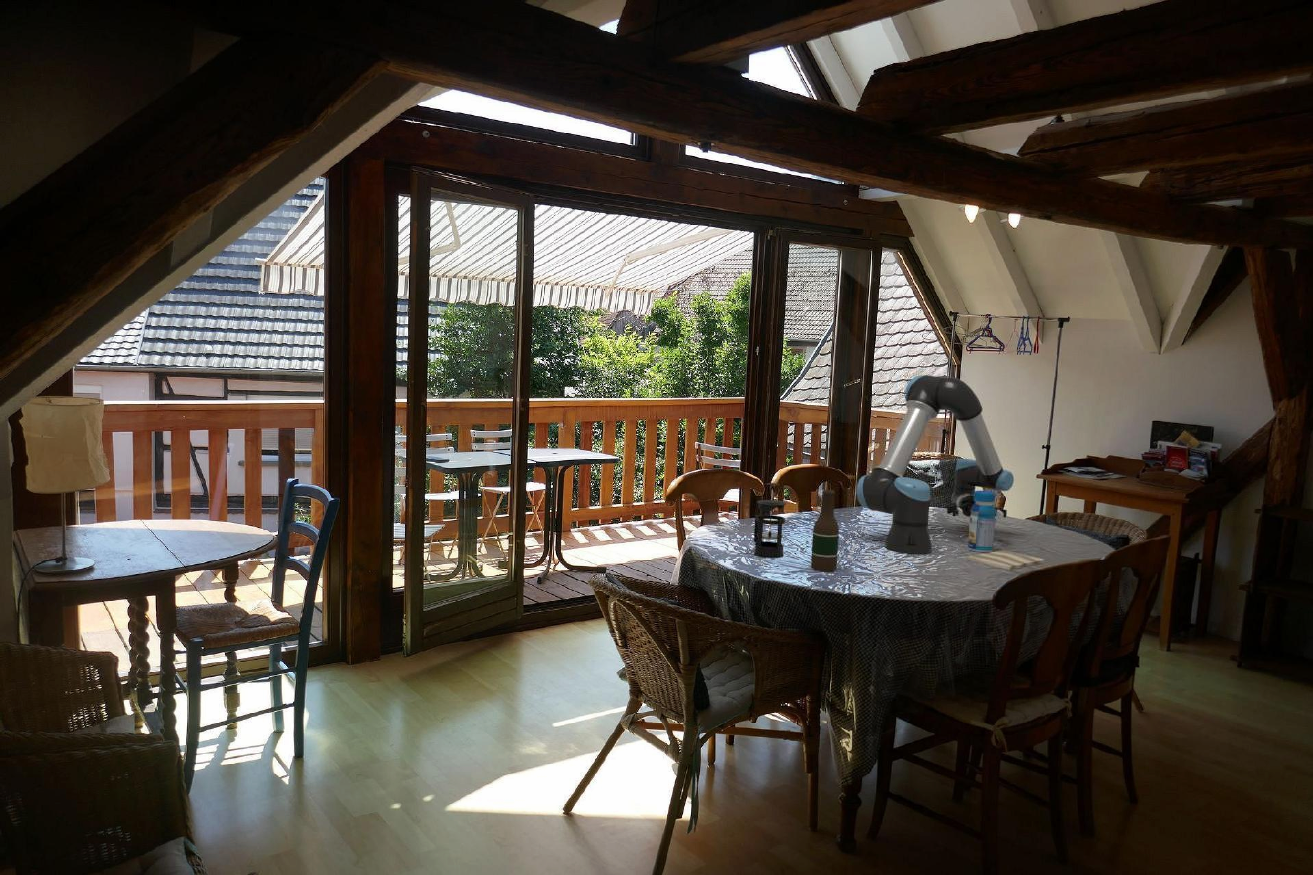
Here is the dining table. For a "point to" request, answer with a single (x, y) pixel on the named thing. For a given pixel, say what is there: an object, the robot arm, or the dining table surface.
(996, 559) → the birch board
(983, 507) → the beverage bottle
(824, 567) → the beer bottle
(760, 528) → the black lantern
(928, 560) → the dining table surface
